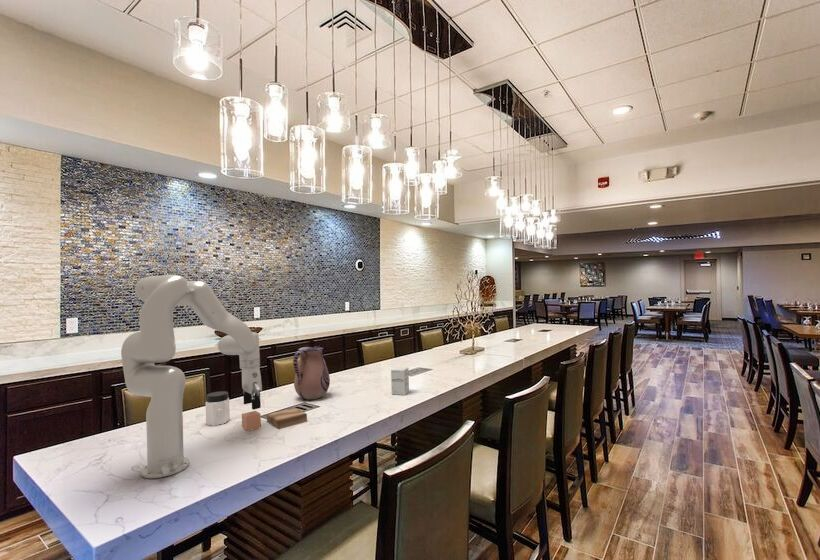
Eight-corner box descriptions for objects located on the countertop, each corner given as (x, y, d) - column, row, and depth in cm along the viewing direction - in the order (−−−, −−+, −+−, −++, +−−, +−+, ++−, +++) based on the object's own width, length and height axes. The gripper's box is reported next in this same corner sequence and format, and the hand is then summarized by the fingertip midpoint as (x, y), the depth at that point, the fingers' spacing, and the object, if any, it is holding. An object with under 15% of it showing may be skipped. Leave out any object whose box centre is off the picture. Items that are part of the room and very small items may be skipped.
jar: (207, 427, 157) (206, 397, 157) (205, 422, 163) (204, 393, 164) (231, 422, 161) (230, 393, 162) (228, 417, 168) (227, 390, 169)
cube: (260, 427, 154) (260, 413, 155) (246, 431, 151) (246, 416, 151) (256, 424, 159) (255, 410, 159) (242, 427, 155) (241, 413, 155)
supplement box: (391, 395, 195) (390, 369, 195) (396, 391, 202) (395, 366, 202) (405, 395, 192) (404, 370, 193) (409, 391, 200) (408, 367, 200)
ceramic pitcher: (336, 393, 202) (334, 345, 203) (315, 405, 182) (314, 351, 182) (306, 392, 207) (304, 345, 207) (283, 403, 186) (281, 351, 187)
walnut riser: (307, 421, 160) (306, 413, 160) (278, 428, 152) (278, 420, 152) (294, 414, 169) (294, 407, 169) (267, 421, 161) (266, 414, 161)
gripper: (267, 364, 151) (269, 408, 152) (252, 359, 165) (254, 399, 165) (247, 368, 147) (249, 413, 147) (233, 362, 160) (235, 403, 160)
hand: (252, 406), depth 156 cm, fingers open, 9 cm apart
